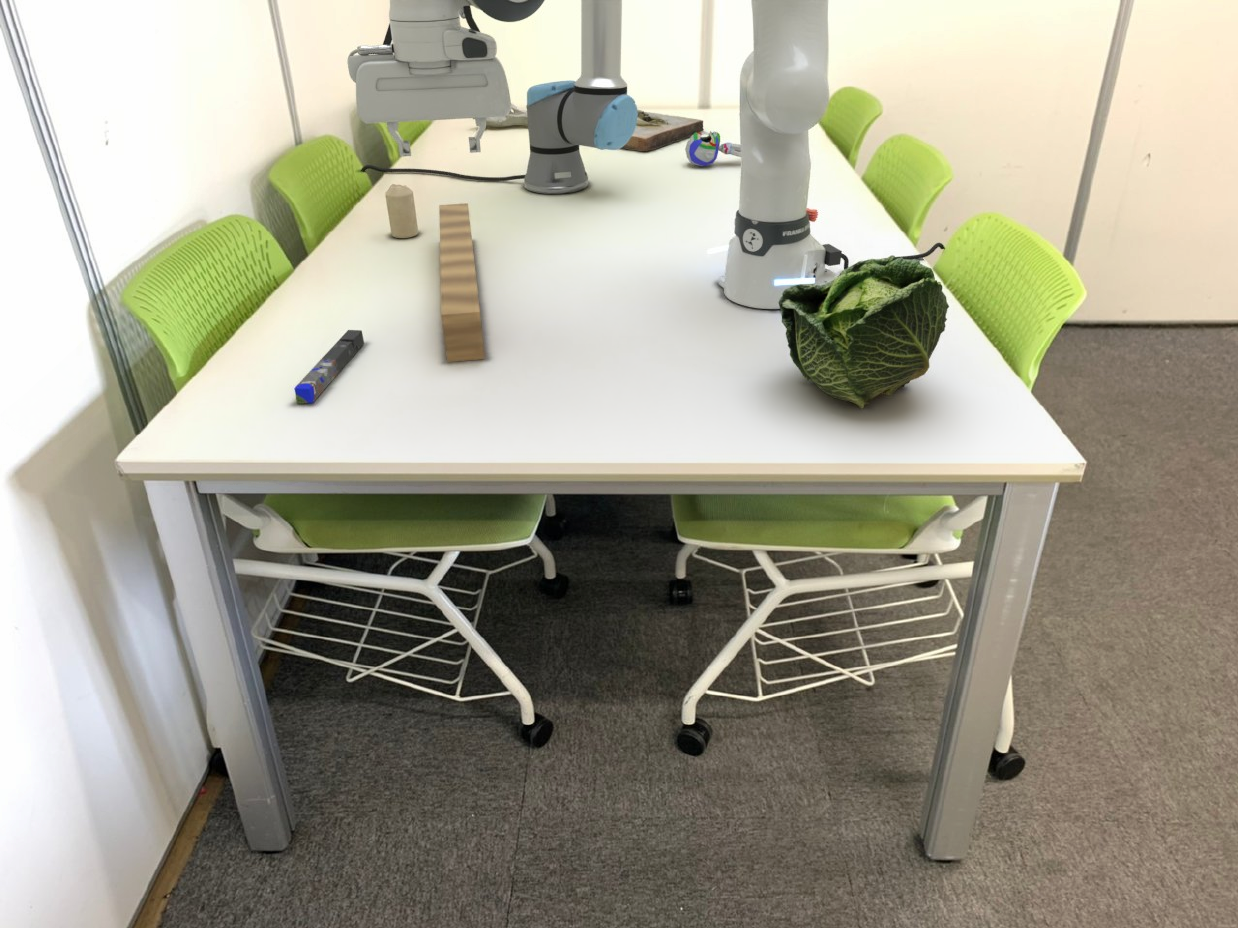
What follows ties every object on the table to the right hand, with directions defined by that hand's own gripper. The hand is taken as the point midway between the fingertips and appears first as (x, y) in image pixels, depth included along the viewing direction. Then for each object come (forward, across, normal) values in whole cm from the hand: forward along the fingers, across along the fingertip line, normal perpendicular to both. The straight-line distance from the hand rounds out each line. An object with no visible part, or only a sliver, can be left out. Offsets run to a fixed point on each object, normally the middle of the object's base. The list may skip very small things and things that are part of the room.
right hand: (440, 153), depth 123 cm
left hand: (+2, 0, +46) cm, 46 cm away
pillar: (+29, -19, -5) cm, 35 cm away
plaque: (+29, +52, +136) cm, 149 cm away
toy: (+29, +74, +98) cm, 126 cm away
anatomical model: (+29, +16, +159) cm, 163 cm away
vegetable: (+29, +54, -25) cm, 66 cm away
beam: (+29, 0, +23) cm, 37 cm away
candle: (+29, -11, +58) cm, 66 cm away
